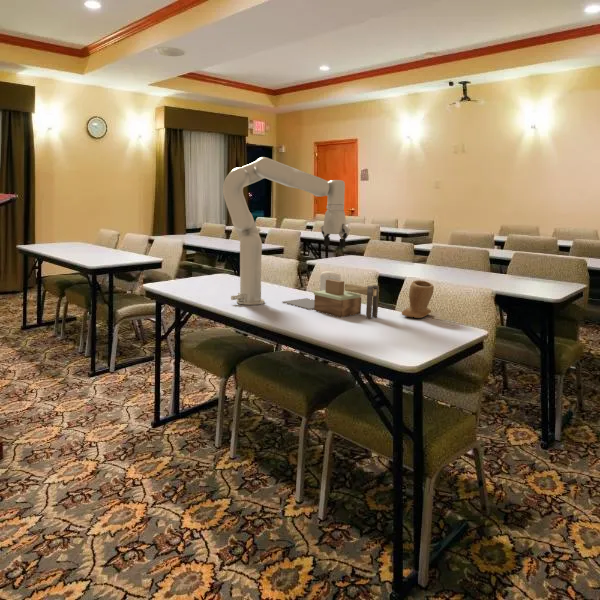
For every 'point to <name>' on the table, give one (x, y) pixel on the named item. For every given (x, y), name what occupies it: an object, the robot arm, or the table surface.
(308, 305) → the mat
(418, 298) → the stone cup
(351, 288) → the tan wooden bar
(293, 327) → the table surface
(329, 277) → the photo printer
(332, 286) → the lid
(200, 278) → the table surface
